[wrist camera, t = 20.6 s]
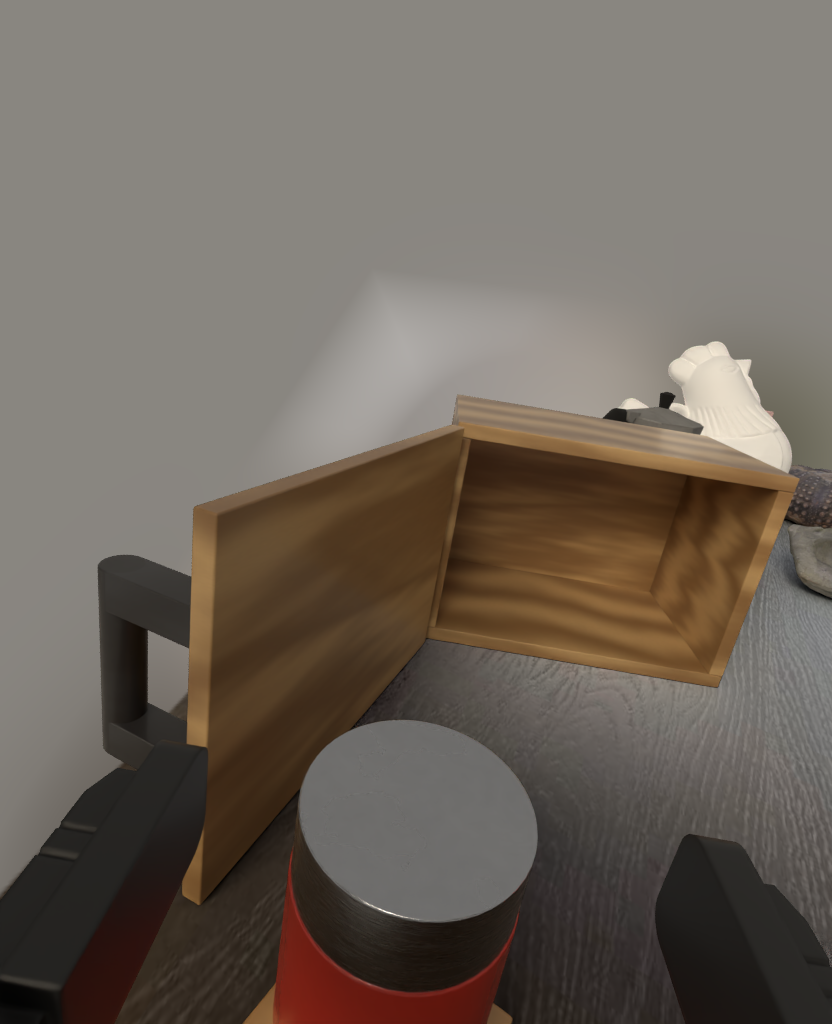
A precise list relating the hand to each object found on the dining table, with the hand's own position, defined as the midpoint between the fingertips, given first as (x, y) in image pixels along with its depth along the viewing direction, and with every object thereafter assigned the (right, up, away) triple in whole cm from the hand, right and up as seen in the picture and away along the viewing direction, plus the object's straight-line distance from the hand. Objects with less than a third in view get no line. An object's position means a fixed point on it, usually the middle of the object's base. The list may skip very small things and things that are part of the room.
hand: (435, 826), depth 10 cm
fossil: (+45, -4, +54) cm, 71 cm away
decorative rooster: (+41, +6, +81) cm, 91 cm away
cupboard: (+11, -4, +39) cm, 40 cm away
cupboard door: (-7, -6, +22) cm, 24 cm away
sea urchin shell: (+66, +3, +85) cm, 108 cm away
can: (-2, -11, +8) cm, 14 cm away
